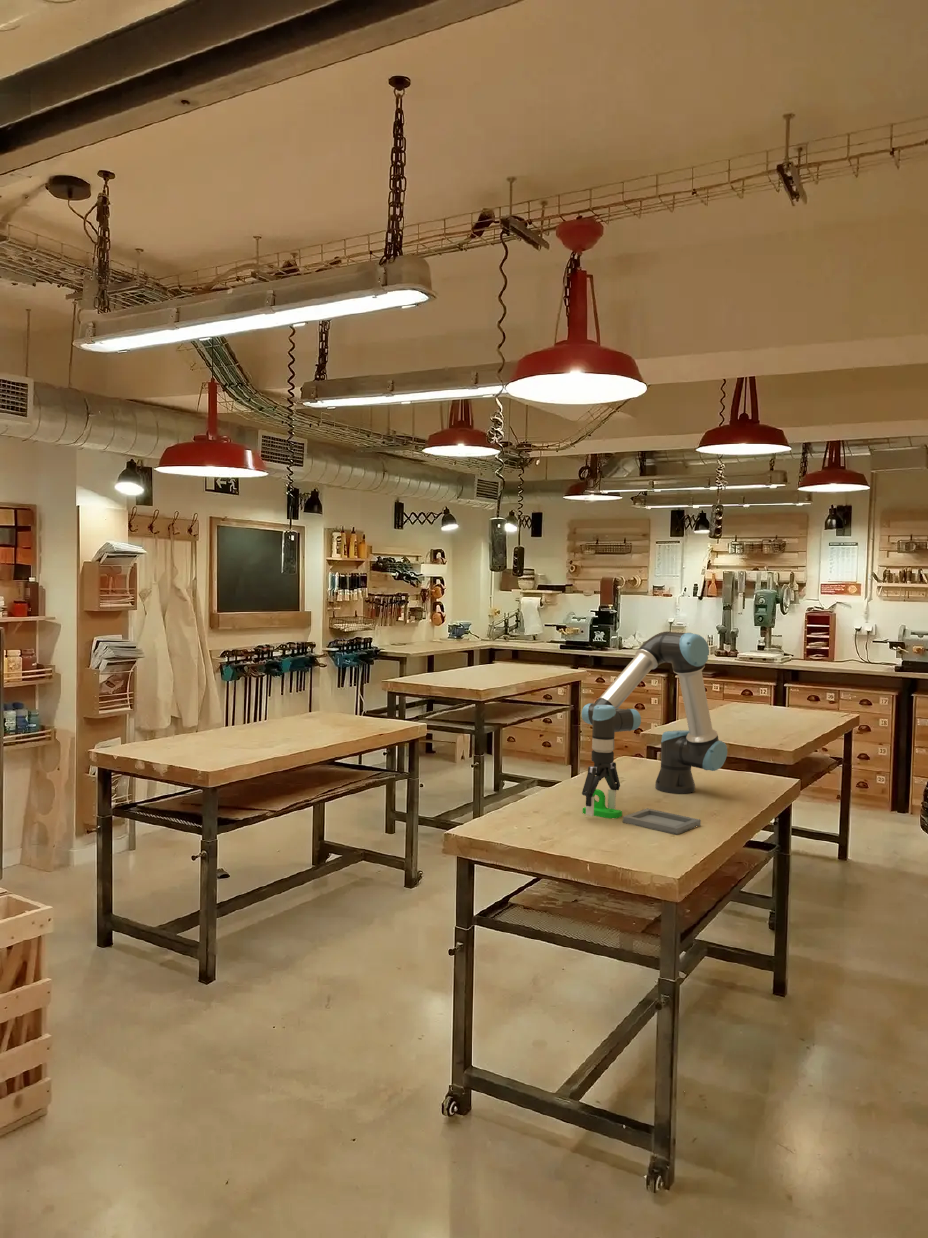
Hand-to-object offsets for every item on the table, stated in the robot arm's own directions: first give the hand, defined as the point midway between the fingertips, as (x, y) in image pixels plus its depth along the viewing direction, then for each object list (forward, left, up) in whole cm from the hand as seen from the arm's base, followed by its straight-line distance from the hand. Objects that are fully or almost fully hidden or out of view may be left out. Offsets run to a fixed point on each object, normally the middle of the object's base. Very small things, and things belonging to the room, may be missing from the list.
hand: (600, 812), depth 301 cm
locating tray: (-6, +20, -1) cm, 21 cm away
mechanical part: (-2, 0, -2) cm, 2 cm away
